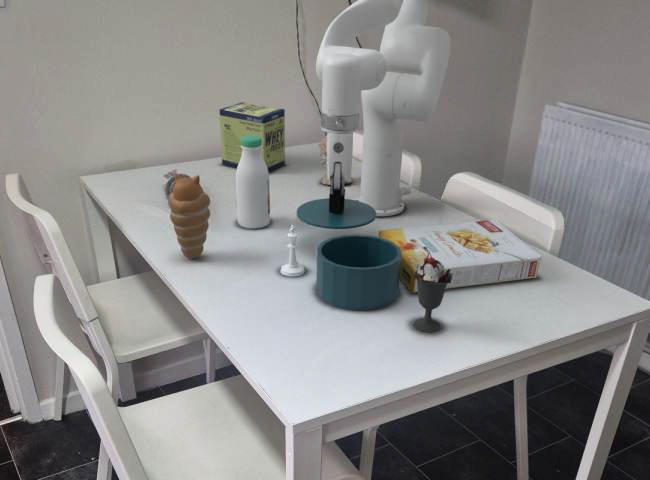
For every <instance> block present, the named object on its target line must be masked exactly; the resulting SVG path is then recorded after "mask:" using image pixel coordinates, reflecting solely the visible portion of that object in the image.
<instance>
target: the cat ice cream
mask: <svg viewBox="0 0 650 480" xmlns="http://www.w3.org/2000/svg"><path fill="white" fill-rule="evenodd" d="M179 174H180V173H177V172H176V173H174V177H175V182H176V183H175V185H174V187H173V189H172V191H173V192H172V193H171V194H170V196H169V198H168V199H167V205H168V207H169V209H170V213H169V219H170V221H171V223H172V224H173V229H174V232H175V235H176V240H177V243H178V245H179V246H180V251H181V253H182V254H183V256H185V257H186V258H188V259H191V260H193V259H196V258H198V257H200V256H201V255H202V254H203V252H204V244H205V242H206V241H207V232H208V230H209V227H210V225H209V219H210V217H211V211H210V208H209V207H210V205H211V198H210V196H209V195H208V194H207V193H205V191H204V189H203V187H202V186H201V184H200V181H201V179H200V175H199V174H196V175H194V176H193V177H191V178H189V177H184V178H183V177H182V176H180V175H179Z"/></svg>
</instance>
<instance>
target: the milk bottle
mask: <svg viewBox="0 0 650 480" xmlns="http://www.w3.org/2000/svg"><path fill="white" fill-rule="evenodd" d="M261 144H262V139H261V137H260V136H256V135H247V136H243V137H242V138H241V148H242V156H241V159H240V162H239V164H238V167H237V168H236V170H235V172H236V173H235V191H236V192H235V194H236V195H235V197H236V216H237V217H236V219H237V223H238V225H239V226H240V227H243V228H246V229H262V228H265V227H267V226H268V225H269V224H270V222H271V197H270V196H271V195H270V190H271V189H270V174H269V172H268V169H267V166H266V164H265V162H264V159H263V157H262V154H261V148H262V146H261Z"/></svg>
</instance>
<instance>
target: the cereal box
mask: <svg viewBox="0 0 650 480" xmlns="http://www.w3.org/2000/svg"><path fill="white" fill-rule="evenodd" d="M378 237H380V238H384V239H386V240H389V241H391V242H393V243H394V244H396V245H397V246H398V247H399V248H400V249H401V253H402V260H401V271H400V281H401V282H402V283H403V284H404V285H405V287H406V288H407V289H408V290H409V292H410V293H411V294H413V293H418V283H417V280H416V279H415V278H414V272H416V271H417V270H418V269H419V267H420V266H421V265H422V264H423V263H424V259H425V258H427V256H428V253H429V252H430V254H431V257H432V258H434V259H435V260H437V261H439V262H441V263H442V264H443V266H444V270H445V271H447V270H449V269H450V273H451V274H452V280H451V283H447V285H446V288H445V290H447V289H456V288H462V287H471V286H478V285H486V284H495V283H504V282H505V283H506V282H511V281H520V280H528V279H529V280H530V279H536V278H538V274H539V269H540V265H541V262H542V255H541V254H540V253H538V252H537V251H536V250H535V249H533V248H532V247H531V246H529V245H528V244H527V243H525V241H523V240H521V239H520V238H519V236H516V235H515V234H514V233H513V232H511V231H510V230H509V229H507V227H505V226H503V225H502V224H501V223H499V222H498V221H497V220H496V219H489V220H478V221H467V222H457V223H446V224H434V225H433V224H432V225H422V226H411V227H402V228H401V227H400V228H391V229H379V230H378ZM423 247H427V249H428V250H429V252H427V251H428V250H427V249H426V250H427V251H426V250H425V249H424V248H423ZM430 254H429V256H428V258H431V257H430Z"/></svg>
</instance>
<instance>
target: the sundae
mask: <svg viewBox="0 0 650 480" xmlns="http://www.w3.org/2000/svg"><path fill="white" fill-rule="evenodd" d="M423 248H424V249H425V250H426V249H427V247H423ZM427 250H428V249H427ZM427 250H426V251H427ZM427 252H429V250H428V251H427ZM429 254H430V252H429V253H428V256H429ZM428 256H427V258H425V259H424V263H423V264H422V265H421V266H420V267H419V269H418V270H417V271H416V272H414V278H415V279H416V280H417V283H418V292H417V299H418V303H419V305H420V306H421V307H422V308H423V309H425V312H424V316H423V317H422V318H417V319H416V320H414V322H413V323H412V324H413V327H414V328H415V330H417V331H419V332H422V333H435V332H437V331H439V330H440V329H441V327H442V325H441V323H440V322H439V321H438V320H436V319H433V318H432V313H433V310H435V309H437V308H438V307H440V306H441V304H442V301H443V298H444V295H445V292H446V289H445V288H446V285H447V283H451V280H452V274H451V273H450V269H449V270H447V271H445V270H444V266H443V264H442V263H441V262H439V261H437V260H435V259H434V258H432V257H431V254H430V257H431V258H428Z"/></svg>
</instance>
